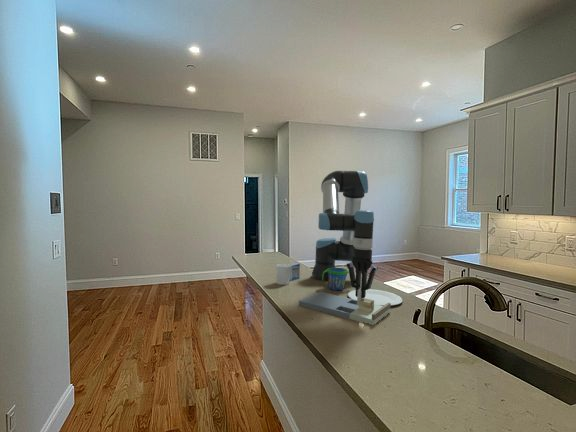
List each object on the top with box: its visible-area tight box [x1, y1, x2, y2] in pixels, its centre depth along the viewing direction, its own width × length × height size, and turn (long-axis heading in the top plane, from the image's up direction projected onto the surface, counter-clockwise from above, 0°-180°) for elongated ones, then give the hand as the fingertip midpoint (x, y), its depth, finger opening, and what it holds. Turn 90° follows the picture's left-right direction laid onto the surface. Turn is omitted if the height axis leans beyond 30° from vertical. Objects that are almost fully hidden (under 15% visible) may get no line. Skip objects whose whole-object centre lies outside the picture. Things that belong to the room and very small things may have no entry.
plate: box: [347, 288, 403, 307], centre depth 151 cm, size 25×25×2 cm
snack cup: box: [321, 267, 351, 291], centre depth 167 cm, size 16×10×10 cm
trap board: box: [298, 291, 392, 326], centre depth 136 cm, size 18×34×4 cm, turn 54°
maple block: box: [359, 298, 374, 313], centre depth 129 cm, size 4×4×4 cm
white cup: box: [275, 263, 291, 286], centre depth 174 cm, size 8×8×10 cm
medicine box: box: [289, 262, 301, 281], centre depth 185 cm, size 8×4×9 cm, turn 143°
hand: (359, 305), depth 131 cm, fingers closed
